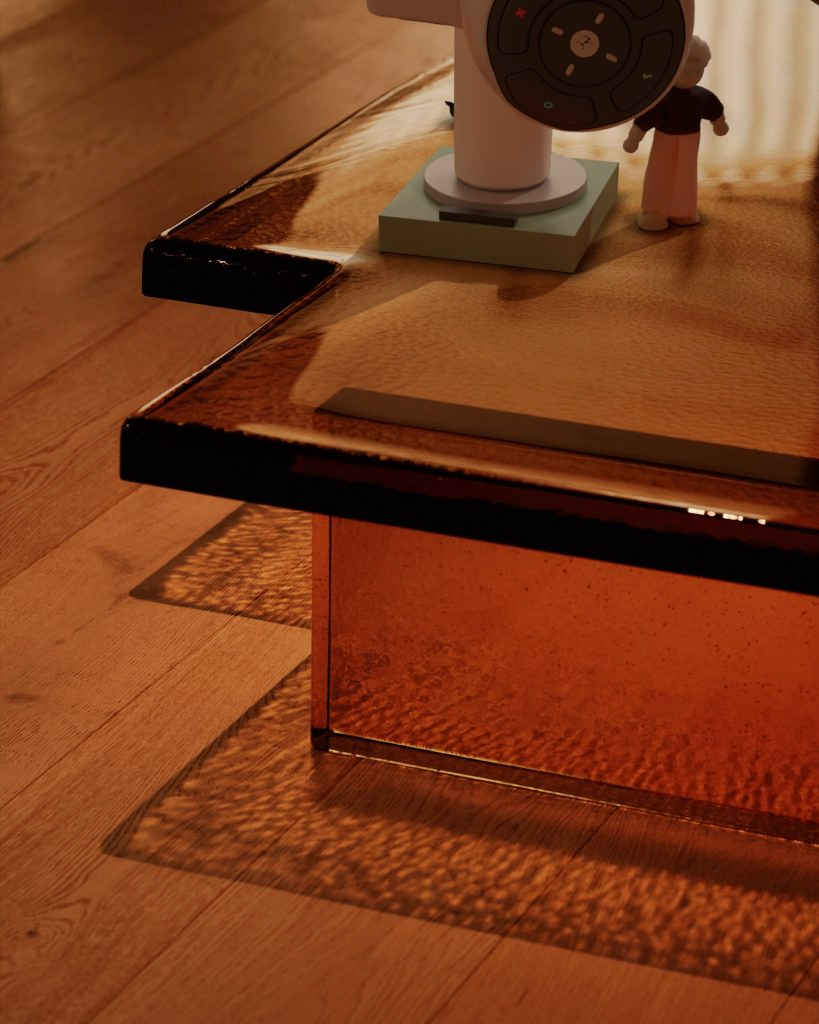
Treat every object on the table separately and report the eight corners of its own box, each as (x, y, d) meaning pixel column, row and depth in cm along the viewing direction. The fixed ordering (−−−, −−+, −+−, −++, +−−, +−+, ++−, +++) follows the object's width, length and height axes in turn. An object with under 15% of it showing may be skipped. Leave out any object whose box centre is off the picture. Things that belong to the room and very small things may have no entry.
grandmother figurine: (648, 241, 106) (662, 48, 99) (611, 223, 109) (622, 34, 102) (734, 216, 109) (753, 28, 103) (696, 199, 112) (712, 16, 106)
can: (472, 155, 111) (473, -23, 104) (562, 166, 109) (569, -15, 102) (439, 187, 106) (439, 2, 99) (533, 198, 104) (539, 10, 97)
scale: (617, 196, 113) (620, 151, 111) (573, 273, 102) (575, 224, 100) (440, 178, 116) (440, 134, 115) (378, 251, 105) (377, 203, 103)
